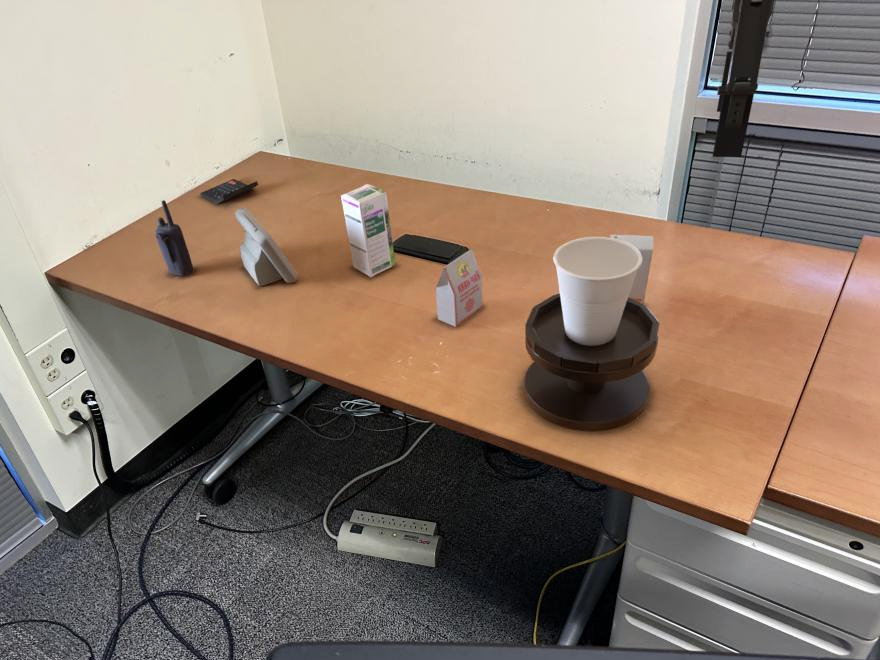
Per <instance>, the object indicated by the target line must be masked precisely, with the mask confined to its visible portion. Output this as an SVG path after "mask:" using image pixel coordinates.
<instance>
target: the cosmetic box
mask: <svg viewBox="0 0 880 660" xmlns="http://www.w3.org/2000/svg"><path fill="white" fill-rule="evenodd" d="M609 238H615V239H619V240H622V241H625V242H628V243H630V244H631V245H633V246H635V247H636V248H637V249H638V250H639V251H640V253H641V255H642V264H641V266H640V267H639V268H638V270H637V273H636V276H635V279H634V282H633V285H632V288H631V290H630V293H629V296H628V297H629V298H631V299H634V300H636V301H638V302H640V303H643V304H644V305H645V300H646V293H647V292H646V291H647V287H648V281H649V277H650V276H649V275H650V270H651V264H652V259H653V258H652V257H653V251H654V242H655V241H654V240H655V239H654V238H655V237H654V236H653V235H637V234H610V235H609Z"/></svg>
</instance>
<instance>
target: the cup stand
mask: <svg viewBox="0 0 880 660" xmlns="http://www.w3.org/2000/svg"><path fill="white" fill-rule="evenodd" d="M524 326H525V328H524V335H525V337H524V339H525V341H524V342H525V343H524V344H525V350H526V352H527V354H528V355H529V357H530V359H531V360H532V361H533V362H532V363H531V364H530V366H529V367H528V368H527V370H526V371H525V376H524V382H523V383H524V384H523V390H524V397H525V399H526V401H527V403H528V405H529V406H530V408H531V409H532V410H533V411H534V412H535V413H536V414H537V415H539V416H540V417H541V418H543V419H544V420H546V421H548V422H549V423H552V424H554V425H557V426H560V427H563V428H565V429H569V430H570V429H571V430H574V431H575V430H576V431H581V432H582V431H583V432H600V431H601V432H602V431H607V430H612V429H616V428H619V427H623V426H625V425H627V424H629V423H631V422H633V421H634V420H635V419H637V418H638V417H639V416H640V415H641V414H642V413H643V411H644V410H645V408H646V406H647V404H648V401H649V395H650V381H649V379H648V376H647V374H646V373H645V371H644V370H645V369H646V368H647V367H648V366H649V365H650V364H651V362H653V360H654V358H655V356H656V354H657V350H658V344H659V335H658V333H659V328H660V321H659V320H658V319H657V317H656V316H655V315H654V314H653V312H652V311H651V310H650V309H649V307H648V306H647V305H646V304H645V303H644V304H643V303H640V302H638V301H636V300H634V299H631V298H629V297H628V299H627V302H626V305H625V307H624V310H623V313H622V317H621V320H620V323H619V326H618V329H617V332H616V335H615V337H614V338H613V339H612V340H610V341H609V342H607V343H605V344H602V345H597V346H586V345H581V344H578V343H576V342H574V341H573V340H571V339H570V338H569V337H568V336H567V335H566V333H565V327H564V320H563V312H562V305H561V297H560V293H555V294H553V295H551V296H549V297H548V298H546V299H544V300H543V301H540V302H539V303H538V304H536V305H534V306H533V307H532V308H531V311H530V313H529V315H528V318H527V321H526V323H525V324H524Z"/></svg>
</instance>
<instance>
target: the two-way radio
mask: <svg viewBox="0 0 880 660" xmlns="http://www.w3.org/2000/svg"><path fill="white" fill-rule="evenodd" d="M160 202H161V205H162V206H161V207H162V209H163V212H164V215H165V219H166V222H165V219H164V218H163V217H158V218H157V226H156V227H155V229H154V234H155V238H156V241H157V245H158V247H159V250H160V252H161V255H162V257H163V259H164V260H163V261H164V262H165V265H166V267H167V270H168V272H169V274H170V275H172V276H173V275H174V276H180V277H181V276H182V277H184V276H188V275H191V274H192V273H193V272H194V270H195V269H194V266H193V262H192V258H191V256H190V252H189V249H188V247H187V243H186V240H185V237H184V234H183V231H182V228H181V226H180V225H179V224H176V223H174V220H173V217H172V215H171V212H170V210H169V207H168V204H167V202H166V200H164V199H162V200H161V201H160Z"/></svg>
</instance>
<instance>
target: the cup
mask: <svg viewBox="0 0 880 660" xmlns="http://www.w3.org/2000/svg"><path fill="white" fill-rule="evenodd" d="M552 259H553V260H552V261H553V264H554V265H555V267H556V269H555V270H556V274H557V275H556V276H557V282H558V289H559V294H560V297H561V305H562V312H563V320H564V327H565V333H566V335H567V336H568V337H569V338H570V339H571V340H573V341H574V342H576V343H578V344H581V345H586V346H597V345H602V344H605V343H607V342H609V341H610V340H612V339H613V338H614V337H615V335H616V332H617V329H618V326H619V323H620V320H621V317H622V313H623V310H624V307H625V305H626V302H627V299H628V296H629V293H630V290H631V288H632V285H633V282H634V279H635V276H636V273H637V270H638V268H639V267H640V266H641V264H642V255H641V253H640V251H639V250H638V249H637V248H636V247H635V246H633V245H631V244H630V243H628V242H625V241H622V240H619V239H615V238H610V236H609V237H608V236H585V237H579V238H576V239H572V240H569V241H567V242H565V243H564V244H563V243H562V245H560V246H559V247H558V248H557V249H556V250H555V252H554V253H553V257H552Z"/></svg>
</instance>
